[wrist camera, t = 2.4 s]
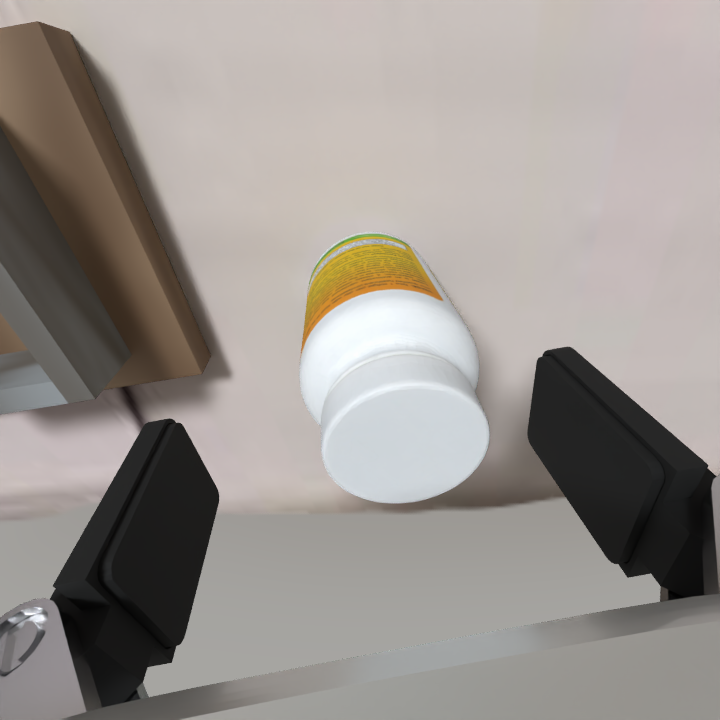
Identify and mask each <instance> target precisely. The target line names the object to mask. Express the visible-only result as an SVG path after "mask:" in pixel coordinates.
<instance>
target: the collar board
mask: <svg viewBox="0 0 720 720" xmlns="http://www.w3.org/2000/svg"><path fill="white" fill-rule="evenodd" d="M210 357H211V355H210V353H209V351H208V349H207V346H206V344H205V342H204V339H203V337H202V335H201V332H200V330H199V328H198V326H197V323H196V321H195V319H194V316H193V314H192V312H191V310H190V307H189V305H188V303H187V300H186V298H185V296H184V293H183V291H182V289H181V287H180V284H179V282H178V280H177V277H176V275H175V273H174V271H173V268H172V266H171V264H170V261H169V259H168V257H167V254H166V252H165V250H164V248H163V245H162V243H161V241H160V238H159V236H158V234H157V232H156V229H155V227H154V225H153V222H152V220H151V218H150V215H149V213H148V211H147V209H146V206H145V204H144V202H143V199H142V197H141V195H140V193H139V190H138V188H137V186H136V183H135V181H134V179H133V177H132V174H131V172H130V170H129V167H128V165H127V163H126V160H125V158H124V156H123V154H122V151H121V149H120V147H119V144H118V142H117V140H116V138H115V135H114V133H113V131H112V128H111V126H110V124H109V121H108V119H107V117H106V115H105V112H104V110H103V108H102V105H101V103H100V101H99V99H98V96H97V94H96V92H95V89H94V87H93V85H92V82H91V80H90V78H89V76H88V73H87V71H86V69H85V66H84V64H83V62H82V60H81V57H80V55H79V53H78V50H77V48H76V46H75V43H74V41H73V39H72V37H71V34H70V32H68V31H65V30H62V29H59V28H56V27H53V26H50V25H47V24H44V23H41V22H38V21H37V22H31V23H26V24H20V25H15V26H10V27H4V28H0V414H6V413H12V412H18V411H25V410H31V409H37V408H43V407H50V406H56V405H62V404H68V403H74V402H81V401H87V400H93V399H96V398H97V396H98V395H99V394H100V393H101V392H102V390H106V389H112V388H118V387H124V386H131V385H137V384H143V383H149V382H155V381H162V380H168V379H174V378H180V377H186V376H193V375H199V374H202V373H203V371H204V369H205V367H206V365H207V363H208V361H209V359H210Z"/></svg>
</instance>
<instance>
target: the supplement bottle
mask: <svg viewBox="0 0 720 720" xmlns="http://www.w3.org/2000/svg"><path fill="white" fill-rule="evenodd" d="M479 366H480V364H479V356H478V351H477V348H476V345H475V342H474V340H473V337H472V335H471V333H470V331H469V329H468V327H467V326H466V324H465V322H464V321H463V319H462V317H461V316H460V314H459V313H458V311H457V310H456V308H455V307H454V305H453V304H452V302H451V301H450V299H449V298H448V296H447V295H446V293H445V292H444V290H443V289H442V287H441V286H440V284H439V283H438V281H437V280H436V278H435V276H434V275H433V273H432V272H431V270H430V269H429V267H428V266H427V264H426V263H425V262H424V260H423V259H422V258H421V256H420V255H419V254H418V252H417V251H416V250H415V249H414V248H413V247H412V246H410V245H409V244H408V243H406V242H405V241H403V240H401V239H400V238H397V237H395V236H392V235H389V234H385V233H380V232H362V233H357V234H353V235H350V236H348V237H345V238H343V239H341V240H340V241H338V242H336V243H335V244H334V245H332V246H331V247H330V248H329V249H328V250H326V251H325V252H324V254H323V255H322V256H321V257H320V259H319V260H318V262H317V263H316V265H315V267H314V270H313V272H312V275H311V278H310V282H309V288H308V296H307V306H306V315H305V325H304V333H303V341H302V349H301V357H300V372H299V378H300V388H301V393H302V396H303V400H304V402H305V405H306V407H307V409H308V411H309V413H310V414H311V416H312V417H313V418H314V420H315V421H316V422H317V423H318V424H319V425H320V426H321V453H322V459H323V462H324V465H325V467H326V470H327V472H328V474H329V475H330V476H331V478H332V479H333V480H334V481H335V482H336V483H337V484H338V485H339V486H340V487H341V488H343V489H344V490H346V491H347V492H349V493H351V494H353V495H355V496H357V497H360V498H363V499H365V500H370V501H374V502H381V503H410V502H416V501H421V500H425V499H429V498H432V497H435V496H438V495H440V494H442V493H444V492H446V491H449V490H451V489H452V488H454V487H456V486H457V485H459V484H460V483H462V482H463V481H464V480H465V479H467V478H468V477H469V476H470V475H471V474H472V473H473V472H474V471H475V470H476V468H477V467H478V466H479V464H480V463H481V461H482V460H483V458H484V456H485V454H486V452H487V448H488V445H489V439H490V430H489V423H488V420H487V417H486V415H485V413H484V411H483V408H482V406H481V404H480V402H479V400H478V398H477V396H476V393H475V390H476V388H477V383H478V379H479Z"/></svg>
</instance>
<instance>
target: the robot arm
mask: <svg viewBox="0 0 720 720" xmlns="http://www.w3.org/2000/svg"><path fill="white" fill-rule="evenodd" d="M528 439H529V442H530V445H531V446H532V448H533V449H534V451H535V452H536V454H537V455H538V457H539V458H540V460H541V461H542V463H543V464H544V466H545V467H546V469H547V470H548V471H549V473H550V474H551V476H552V477H553V479H554V480H555V482H556V483H557V485H558V486H559V488H560V489H561V491H562V492H563V494H564V495H565V497H566V498H567V500H568V501H569V502H570V504H571V505H572V507H573V508H574V510H575V511H576V513H577V514H578V516H579V517H580V519H581V520H582V522H583V523H584V525H585V526H586V528H587V529H588V530H589V532H590V533H591V535H592V536H593V538H594V539H595V541H596V542H597V544H598V545H599V547H600V548H601V550H602V551H603V552H604V554H605V556H606V557H607V558H608V559H609V560H610V561H611V562H612V563H614V564H619V566H620V567H621V569H622V570H623V571H624V573H625V574H626V576H627V577H634V576H639V575H645V574H650V573H651V574H652V575H653V577H654V578H655V579H656V581H657V582H658V583H659V585H660V586H661V592H660V594H661V595H660V602H657V603H652V604H646V605H638V606H633V607H626V608H620V609H614V610H608V611H602V612H597V613H591V614H586V615H581V616H575V617H569V618H564V619H558V620H553V621H547V622H542V623H537V624H531V625H525V626H520V627H514V628H509V629H503V630H498V631H492V632H487V633H482V634H476V635H470V636H465V637H460V638H454V639H449V640H444V641H438V642H433V643H428V644H422V645H417V646H411V647H406V648H401V649H395V650H390V651H385V652H379V653H374V654H369V655H363V656H358V657H353V658H347V659H342V660H337V661H332V662H326V663H321V664H316V665H310V666H305V667H300V668H295V669H290V670H284V671H279V672H275V673H269V674H264V675H259V676H253V677H248V678H243V679H238V680H233V681H227V682H222V683H217V684H212V685H207V686H202V687H196V688H191V689H186V690H182V691H177V692H173V693H168V694H163V695H158V696H153V697H149V696H148V694H147V692H146V689H145V687H144V684H143V680H144V677H145V673H146V670H147V667H150V666H155V665H161V664H167V663H172V659H173V656H174V652H175V649H176V646H177V645H180V644H181V642H182V641H183V639H184V636H185V633H186V629H187V625H188V621H189V617H190V614H191V610H192V605H193V602H194V598H195V594H196V590H197V586H198V582H199V578H200V574H201V570H202V566H203V562H204V559H205V555H206V551H207V547H208V543H209V539H210V535H211V531H212V527H213V523H214V519H215V515H216V512H217V508H218V504H219V493H218V489H217V487H216V485H215V484H214V482H213V480H212V478H211V476H210V474H209V472H208V471H207V469H206V467H205V465H204V463H203V461H202V460H201V458H200V456H199V454H198V452H197V450H196V448H195V447H194V445H193V443H192V441H191V439H190V437H189V436H188V434H187V432H186V430H185V428H184V426H183V425H182V424H181V423H176V422H175V421H174V420H173V419H164V420H159V421H153V422H148V423H146V424H145V425H144V427H143V428H142V430H141V432H140V434H139V435H138V437H137V439H136V441H135V442H134V444H133V446H132V448H131V449H130V451H129V453H128V455H127V456H126V458H125V460H124V462H123V463H122V465H121V467H120V469H119V470H118V472H117V474H116V476H115V477H114V479H113V481H112V483H111V484H110V486H109V488H108V490H107V491H106V493H105V495H104V497H103V499H102V500H101V502H100V504H99V506H98V507H97V509H96V511H95V513H94V514H93V516H92V518H91V520H90V521H89V523H88V525H87V527H86V528H85V530H84V532H83V534H82V535H81V537H80V539H79V541H78V542H77V544H76V546H75V548H74V549H73V551H72V553H71V555H70V557H69V558H68V560H67V562H66V563H65V565H64V567H63V569H62V570H61V572H60V574H59V576H58V578H57V579H56V581H55V583H54V585H53V587H55V588H56V589H55V591H54V593H53V594H52V596H51V598H50V600H49V599H46V598H42V599H33V600H31V601H28V602H25V603H23V604H20V605H19V606H17V607H15V608H14V609H12V610H10V611H9V612H7V613H5V614H4V615H3V616H2V617H0V720H720V474H719V475H718V476H715V475H714V474H713V473H712V472H711V471H710V470H709V469H707V467H708V464H707V463H705V462H704V461H703V460H702V459H701V458H700V457H698V456H697V455H696V454H695V453H694V452H693V451H691V450H690V449H689V448H688V447H687V446H686V445H684V444H683V443H682V442H681V441H680V440H679V439H677V438H676V437H675V436H674V435H673V434H672V433H671V432H669V431H668V430H667V429H666V428H665V427H664V426H662V425H661V424H660V423H659V422H658V421H657V420H655V419H654V418H653V417H652V416H651V415H650V414H648V413H647V412H646V411H645V410H644V409H643V408H641V407H640V406H639V405H638V404H637V403H636V402H635V401H633V400H632V399H631V398H630V397H629V396H628V395H626V394H625V393H624V392H623V391H622V390H621V389H619V388H618V387H617V386H616V385H615V384H614V383H612V382H611V381H610V380H609V379H608V378H607V377H605V376H604V375H603V374H602V373H601V372H600V371H599V370H597V369H596V368H595V367H594V366H593V365H592V364H590V363H589V362H588V361H587V360H586V359H585V358H583V357H582V356H581V355H580V354H579V353H578V352H576V351H575V350H574V349H573V348H571V347H563V348H557V349H552V350H547V351H545V352H544V354H543V356H542V357H540V358H538V360H537V364H536V372H535V379H534V387H533V394H532V402H531V410H530V417H529V425H528Z"/></svg>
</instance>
